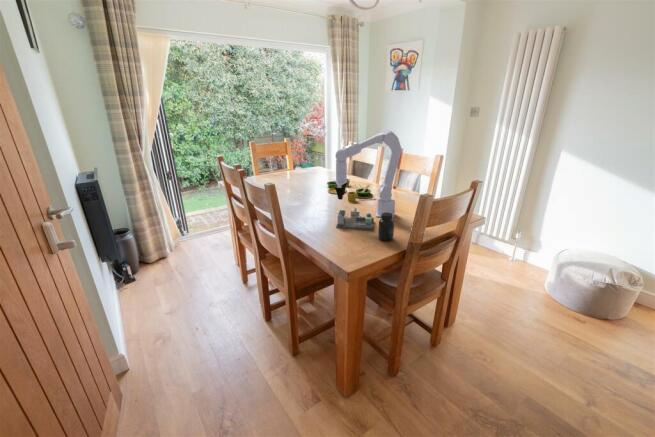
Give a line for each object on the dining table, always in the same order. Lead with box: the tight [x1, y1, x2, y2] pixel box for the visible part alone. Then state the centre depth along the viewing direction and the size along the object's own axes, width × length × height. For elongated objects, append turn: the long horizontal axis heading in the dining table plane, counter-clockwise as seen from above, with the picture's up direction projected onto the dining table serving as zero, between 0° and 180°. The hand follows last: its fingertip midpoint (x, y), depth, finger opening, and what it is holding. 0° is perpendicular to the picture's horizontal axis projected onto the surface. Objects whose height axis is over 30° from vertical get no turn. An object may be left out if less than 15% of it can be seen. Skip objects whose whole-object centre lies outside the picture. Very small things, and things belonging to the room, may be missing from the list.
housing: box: [350, 207, 361, 219], centre depth 158 cm, size 4×4×5 cm
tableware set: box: [326, 178, 377, 203], centre depth 200 cm, size 41×28×6 cm
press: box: [335, 209, 375, 231], centre depth 148 cm, size 18×11×6 cm, turn 80°
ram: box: [364, 212, 373, 224], centre depth 147 cm, size 3×7×5 cm, turn 170°
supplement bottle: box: [377, 212, 395, 243], centre depth 132 cm, size 7×7×12 cm
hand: (341, 197), depth 160 cm, fingers open, 7 cm apart
